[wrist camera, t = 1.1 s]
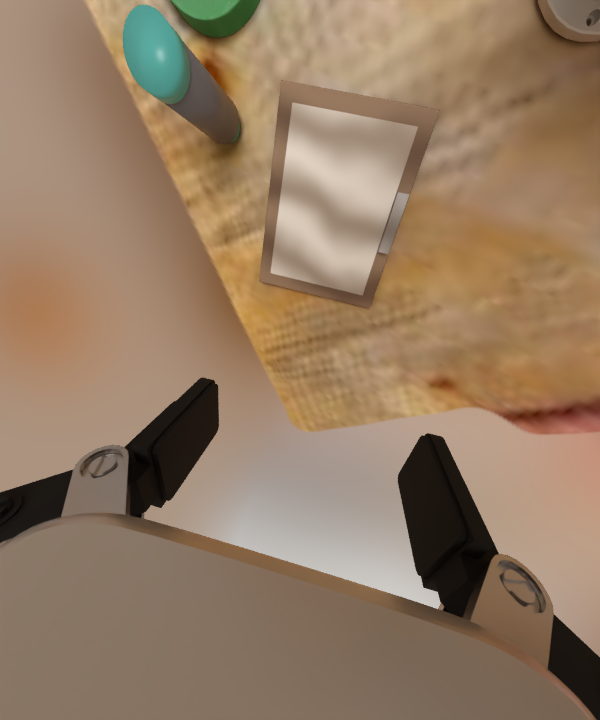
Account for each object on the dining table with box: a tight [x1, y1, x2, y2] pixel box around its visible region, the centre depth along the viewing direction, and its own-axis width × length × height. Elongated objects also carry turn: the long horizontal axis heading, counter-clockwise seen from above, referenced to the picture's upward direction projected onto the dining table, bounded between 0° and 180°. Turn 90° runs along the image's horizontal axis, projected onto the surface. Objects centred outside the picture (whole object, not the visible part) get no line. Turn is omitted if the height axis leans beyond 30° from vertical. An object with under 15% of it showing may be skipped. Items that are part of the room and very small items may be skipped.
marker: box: [123, 5, 240, 144], centre depth 21 cm, size 4×4×12 cm
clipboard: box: [259, 80, 440, 308], centre depth 28 cm, size 20×16×2 cm
